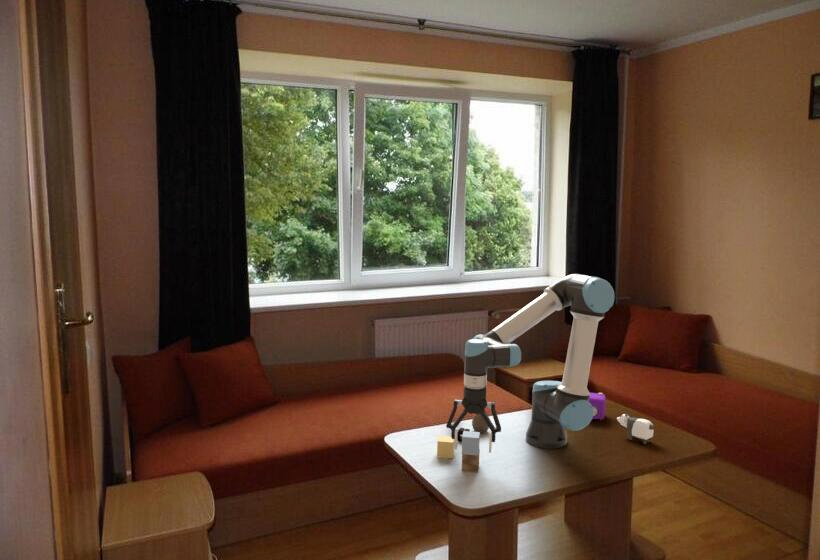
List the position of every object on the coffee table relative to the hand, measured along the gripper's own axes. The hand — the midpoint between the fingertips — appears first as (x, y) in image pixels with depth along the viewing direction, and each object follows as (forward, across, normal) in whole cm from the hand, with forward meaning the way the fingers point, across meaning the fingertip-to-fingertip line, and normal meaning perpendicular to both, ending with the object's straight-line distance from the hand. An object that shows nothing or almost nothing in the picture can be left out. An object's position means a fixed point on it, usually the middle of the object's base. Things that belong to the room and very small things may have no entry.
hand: (472, 449), depth 207 cm
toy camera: (+7, +47, +61) cm, 77 cm away
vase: (+7, +1, +35) cm, 36 cm away
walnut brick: (+7, -1, 0) cm, 7 cm away
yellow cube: (+7, -10, +9) cm, 15 cm away
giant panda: (+7, +60, +39) cm, 72 cm away
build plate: (+7, -5, +25) cm, 26 cm away
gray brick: (+1, -1, 0) cm, 1 cm away
